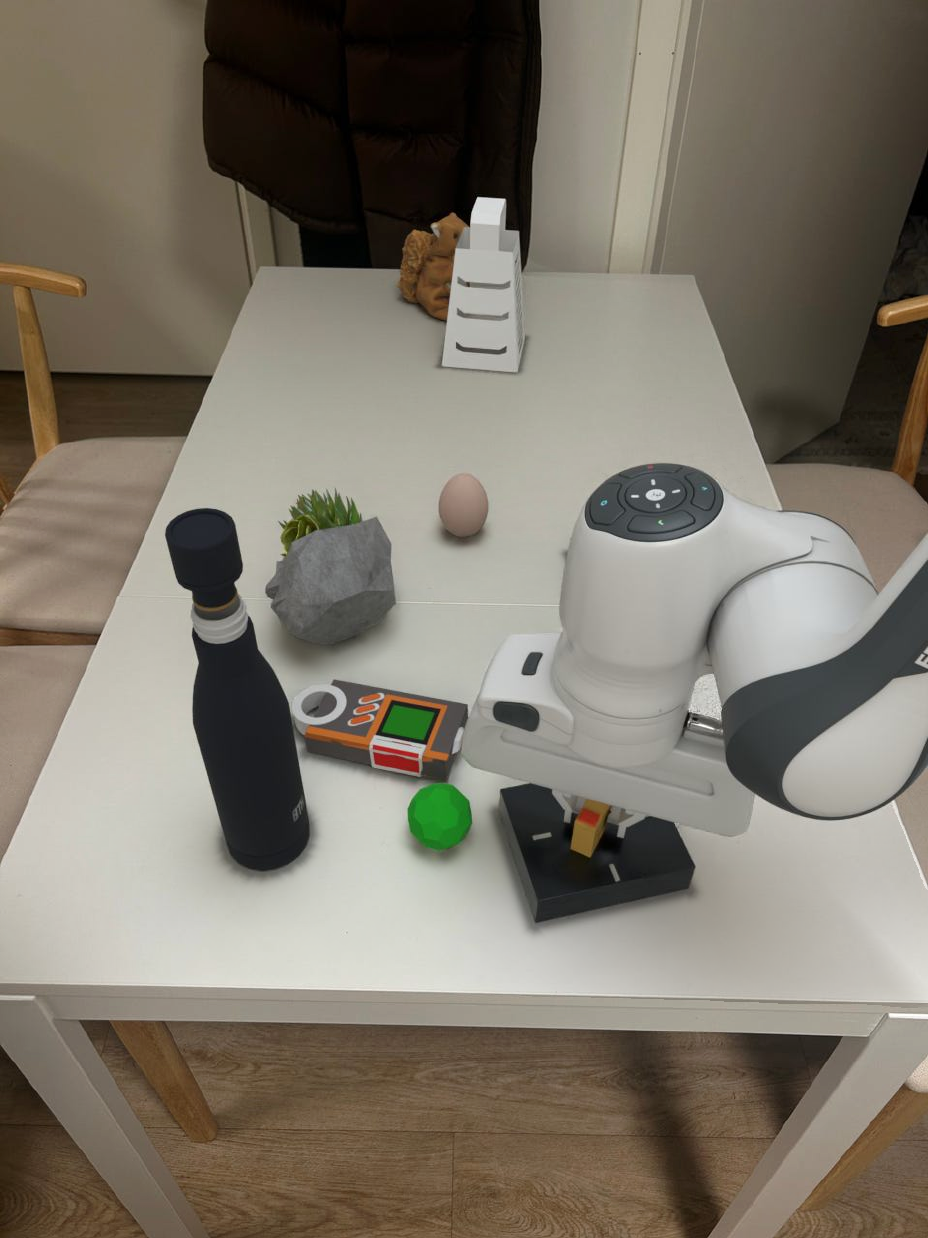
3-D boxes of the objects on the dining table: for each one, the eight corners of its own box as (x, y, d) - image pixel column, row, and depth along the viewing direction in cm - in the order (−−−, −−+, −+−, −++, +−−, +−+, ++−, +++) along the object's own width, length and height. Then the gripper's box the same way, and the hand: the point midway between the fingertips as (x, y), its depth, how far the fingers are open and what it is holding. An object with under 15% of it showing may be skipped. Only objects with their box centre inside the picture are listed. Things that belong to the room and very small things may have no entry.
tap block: (638, 783, 77) (644, 759, 75) (688, 889, 70) (696, 865, 68) (498, 811, 75) (499, 787, 72) (535, 923, 68) (538, 900, 65)
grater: (524, 337, 135) (533, 193, 122) (517, 372, 128) (526, 223, 114) (453, 332, 136) (454, 188, 123) (441, 366, 129) (441, 217, 115)
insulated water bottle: (222, 812, 74) (137, 504, 54) (302, 793, 76) (249, 486, 55) (232, 881, 70) (144, 572, 49) (317, 859, 71) (265, 551, 51)
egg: (443, 550, 99) (443, 493, 94) (434, 520, 103) (434, 464, 98) (492, 545, 100) (494, 487, 95) (481, 515, 104) (483, 459, 99)
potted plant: (261, 655, 82) (209, 528, 89) (359, 668, 93) (306, 554, 99) (349, 569, 78) (287, 442, 84) (442, 593, 88) (380, 478, 94)
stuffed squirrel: (459, 326, 138) (460, 235, 129) (380, 303, 143) (376, 215, 134) (493, 302, 144) (496, 214, 135) (416, 281, 149) (415, 195, 140)
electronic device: (307, 671, 82) (471, 702, 79) (312, 694, 84) (472, 725, 81) (275, 727, 78) (448, 762, 74) (281, 750, 80) (450, 785, 76)
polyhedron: (407, 809, 75) (406, 772, 71) (469, 806, 75) (470, 769, 72) (409, 863, 71) (407, 827, 68) (473, 860, 71) (475, 823, 68)
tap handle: (598, 795, 72) (604, 765, 70) (618, 803, 72) (624, 773, 69) (570, 849, 69) (574, 819, 66) (590, 858, 68) (595, 828, 66)
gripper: (788, 702, 60) (741, 827, 69) (483, 629, 64) (479, 756, 74) (780, 777, 55) (732, 900, 65) (454, 693, 60) (453, 819, 69)
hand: (595, 822), depth 69 cm, fingers closed on tap handle, 2 cm apart
